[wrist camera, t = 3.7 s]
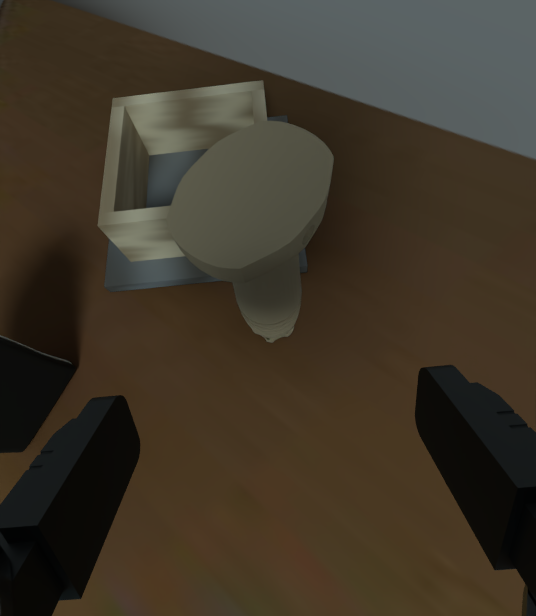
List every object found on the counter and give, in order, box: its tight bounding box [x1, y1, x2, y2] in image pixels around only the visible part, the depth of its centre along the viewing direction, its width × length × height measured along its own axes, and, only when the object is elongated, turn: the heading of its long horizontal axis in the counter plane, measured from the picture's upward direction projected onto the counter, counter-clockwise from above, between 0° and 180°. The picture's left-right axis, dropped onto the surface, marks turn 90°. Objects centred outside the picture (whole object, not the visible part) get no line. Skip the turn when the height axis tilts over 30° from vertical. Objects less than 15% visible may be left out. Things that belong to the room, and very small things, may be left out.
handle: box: [166, 121, 334, 343], centre depth 19 cm, size 5×6×15 cm
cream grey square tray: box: [98, 80, 307, 292], centre depth 27 cm, size 16×16×6 cm
